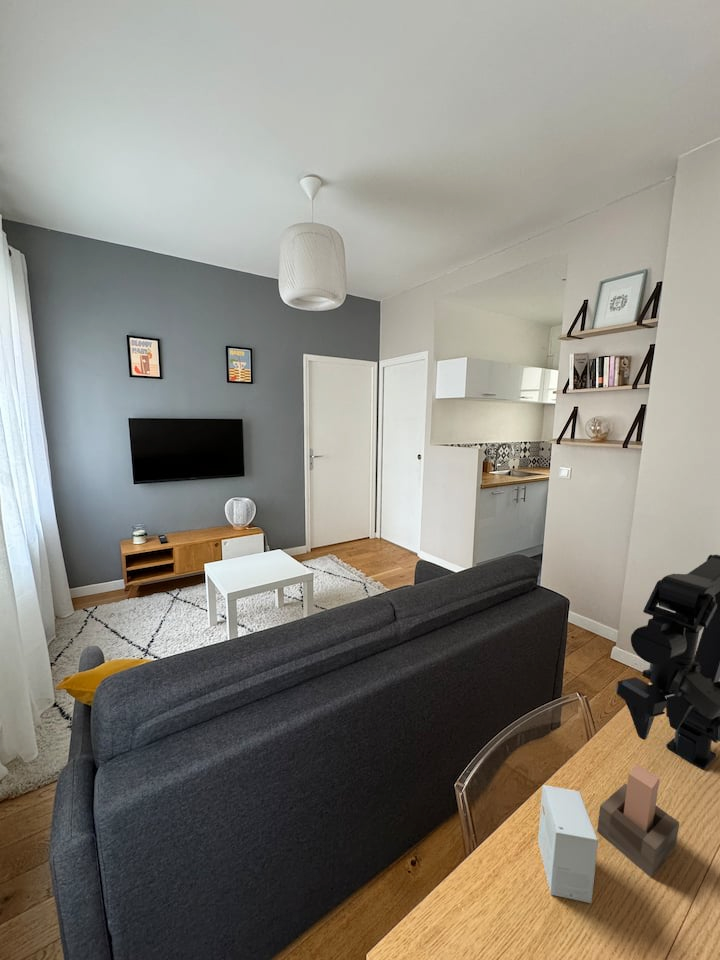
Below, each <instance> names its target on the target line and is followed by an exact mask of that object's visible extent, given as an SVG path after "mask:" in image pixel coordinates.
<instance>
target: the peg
mask: <svg viewBox="0 0 720 960" xmlns="http://www.w3.org/2000/svg"><path fill="white" fill-rule="evenodd" d="M626 784H627V791H626V799H625V806H624V815H625V816H626V817H628V818H629V819H630V820H631V821H633V822H634V823H635V824H637V825H638V826H639V827H640V828H642V829H643V830H644V831H646V832H647V833H649V832H650V831H651V830H652V827H653V821H654V814H655V807H656V806H657V800H658V799H657V798H658V793H659V792H658V791H659V785H660V776H657V775H656V774H654V773H652V772H651V771H649V770H648V769H646V768H645V767H643V766H641V765H639V764H638V763H636V764H635V765H634V766H633V768H632V769H631V770H630V772H629V773H628V777H627V783H626Z"/></svg>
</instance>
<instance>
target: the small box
mask: <svg viewBox="0 0 720 960" xmlns="http://www.w3.org/2000/svg"><path fill="white" fill-rule="evenodd" d="M541 787H542V789H541V801H540V811H539V812H540V813H539V823H538V824H539V825H538V835H537V837H538V838H537V841H538V845H539V850H540V854H541V858H542V863H543V868H544V872H545V875H546V876H545V877H546V879H547V880H546V881H547V885H548V888H549V894H550V895H551V896H556V897H562V898H565V899H569V900H570V899H571V900H575V901H580V902H584V903H589V904H591V903H592V902H593V892H594V884H595V872H596V865H597V856H598V855H597V854H598V846H599V839H598V836H597V834H596V831H595V829H594V826H593V823H592V821H591V818H590V816H589V812H588V810H587V807H586V805H585V803H584V799H583V796H582V795H581V792H580V791H579V790H574V789H568V788H564V787H557V786H551V785H545V784H543V785H542V786H541Z"/></svg>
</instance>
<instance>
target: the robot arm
mask: <svg viewBox="0 0 720 960" xmlns="http://www.w3.org/2000/svg"><path fill="white" fill-rule="evenodd" d="M643 613H644V614H647V615H649V616H652V618H650V619H648V620H647V624H646V625H642V626H640V627H637V628H636V629H635V630H634V631H633V632H632V633H631V636H630V644H631V646H632V649H633V651H634V652H635V654H636V655H637V656H638V657H639V658H640V659H642V660H643V661H644V662H646V663H649V666H648V667H649V668H647V669H644V670H643V671H642V677H644V678H646V679H647V680H649V683H650V684H648V683H647V682H646V681H644V680H642V679H639V678H638V677H630V678H625V679H621V680H619V681H616V682H617V683H616V688H615V693H616V695H618V696H619V697H620V698H621V699H622V700H624V702H625V705H626V706H627V709H628V711H629V713H630V716H631V719H632V723H633V725H634V728H635V731H636V733H637V737H638V738H639V739H641V740H643V741H645V740H647V738H648V736H649V734H650V732H651V731H650V730H651V729H652V725H653V722H654V721H655V720H654V719H655V717H658V716H662V715H664V714H665V715H666V717H667V718H668V722H669V723H668V724H669V727H671V728H672V729H673V730H675V733H674V737H673V738H672V739H671V740H670V741H668V742H667V744H666V745H665V747H666V748H667V749H668V750H670V751H672V752H673V753H675V754H677V755H678V756H680V757H682V758H683V759H685V760H686V761H689V763H691V764H693V765H695V766H697V767H698V768H700V769H702V770H706V768H707V767H708V766H709V765H711V763H712V762H713V761H714V760H715V758H716V757H717V753H716V752H714V751H712V750H711V748H712V743H713V742H714V743H715V744H717V743H719V742H720V554H709V555H708V557H707V558H706V561H703V563H702V564H700V565H699V566H696V567H695V568H694V569H692V570H691V571H690V572H688V573H671V574H668V575H664V576H663V577H662V578H661V579H660V580H657V582H656V583H655V586H654V588H653V590H652V592H651V594H650V595H649V598H648V600H647V603H646V604H645V606H644V608H643ZM701 631H702V633H701V635H700V632H701ZM699 635H700V636H699ZM699 637H700V638H699ZM698 641H699V642H698ZM664 710H665V711H666V712H665V711H664Z"/></svg>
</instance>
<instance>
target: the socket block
mask: <svg viewBox="0 0 720 960" xmlns="http://www.w3.org/2000/svg"><path fill="white" fill-rule="evenodd" d="M626 791H627V783H624V784H622V786H620V787H619V788H618V789H617V790H616V791H615V792H614V793H612V794H611V795H610V796H609V797H608V798H607V799H606V800H605V801H604V802H603V803H601V804H600V805H599V813H598V820H597V821H598V822H597V829H596V831H597V833H598V834H600V836H602V837H603V838H604V839H605V840H606V841H608V842H609V843H610V844H611V845H612V846H613V847H614V848H616V850H618V851H619V852H620V853H622V855H624V856H625V857H626V858H627V859H628V860H630V861H631V862H632V863H633V864H635V865H636V866H637V867H638V868H640V870H641V871H643V872H644V873H645V874H646V875H647V876H648V877H650V878H653V876H654V875H655V874H656V873H657V872H658V870H659V869H660V868H661V867H662V866H663V865H664V864H665V862H666V861H667V860H668V858H670V856H671V855H672V854H673V853H674V851H675V850H676V846H677V841H678V835H679V834H678V833H679V828H680V822H679V821H678V820H677V819H676V818H674V817H673V816H671V815H670V814H669V813H667V812H666V811H664V810H663V809H661V808H660V807H658V806H657V805H656V807H655V814H654V821H653V827H652V830H651V831H650V832H649V833H647V832H646V831H644V830H643V829H642V828H640V827H639V826H638V825H637V824H635V823H634V822H633V821H631V820H630V819H629V818H628V817H626V816H625V815H624V806H625V799H626Z"/></svg>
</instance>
